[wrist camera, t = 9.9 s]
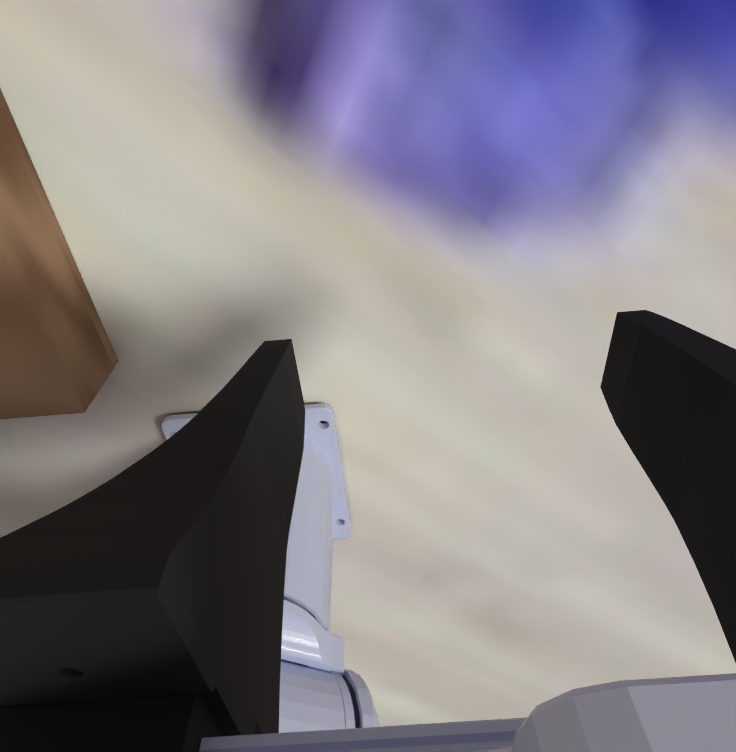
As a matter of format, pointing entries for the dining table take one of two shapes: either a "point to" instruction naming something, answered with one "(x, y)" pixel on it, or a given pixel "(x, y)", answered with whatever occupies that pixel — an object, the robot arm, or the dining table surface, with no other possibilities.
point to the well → (41, 299)
